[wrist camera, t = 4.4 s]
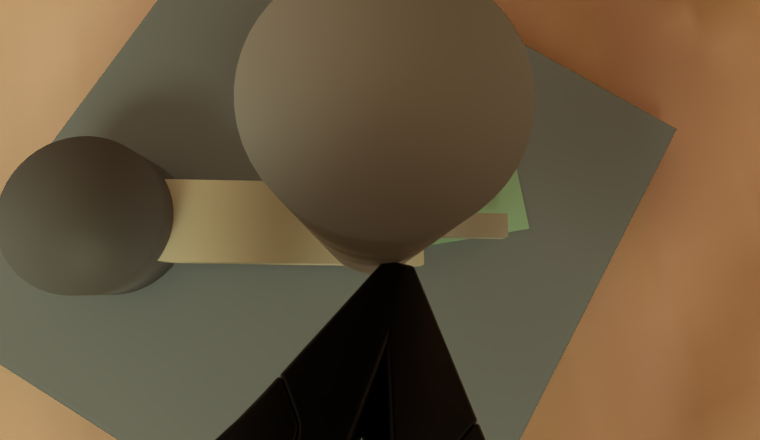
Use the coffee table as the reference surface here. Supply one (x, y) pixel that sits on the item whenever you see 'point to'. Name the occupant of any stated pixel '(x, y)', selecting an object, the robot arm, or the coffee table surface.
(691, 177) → the coffee table surface
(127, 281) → the lever
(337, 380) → the robot arm
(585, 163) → the plate
